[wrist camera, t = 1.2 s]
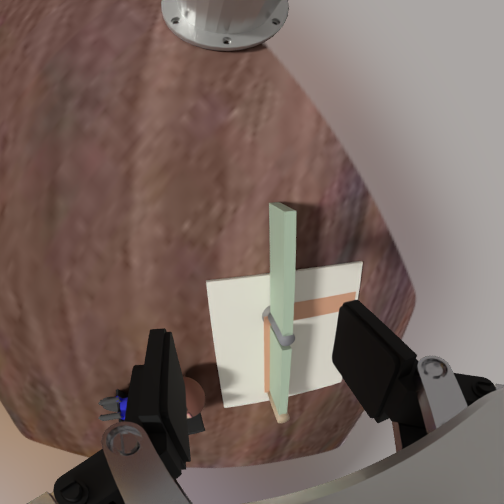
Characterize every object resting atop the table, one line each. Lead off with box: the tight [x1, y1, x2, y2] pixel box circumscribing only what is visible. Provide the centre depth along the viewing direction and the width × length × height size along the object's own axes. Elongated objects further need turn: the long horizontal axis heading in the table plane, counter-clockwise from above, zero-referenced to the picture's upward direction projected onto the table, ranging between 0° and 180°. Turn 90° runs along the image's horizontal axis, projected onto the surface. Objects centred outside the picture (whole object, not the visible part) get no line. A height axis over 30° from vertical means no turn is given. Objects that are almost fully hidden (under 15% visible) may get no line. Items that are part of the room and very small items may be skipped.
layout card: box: [206, 261, 363, 408], centre depth 32 cm, size 20×18×1 cm
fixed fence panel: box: [267, 325, 292, 423], centre depth 30 cm, size 13×2×5 cm, turn 2°
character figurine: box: [98, 376, 205, 435], centre depth 28 cm, size 8×7×15 cm
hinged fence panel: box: [268, 202, 296, 346], centre depth 26 cm, size 13×2×4 cm, turn 2°
